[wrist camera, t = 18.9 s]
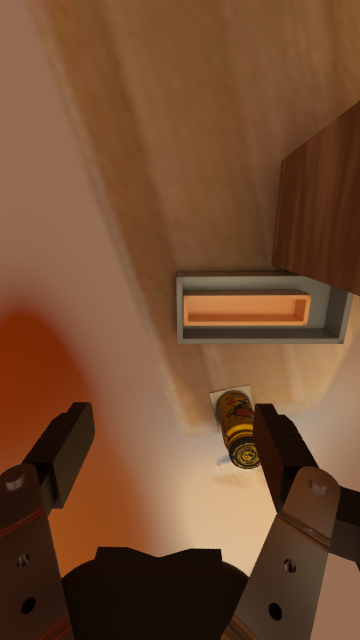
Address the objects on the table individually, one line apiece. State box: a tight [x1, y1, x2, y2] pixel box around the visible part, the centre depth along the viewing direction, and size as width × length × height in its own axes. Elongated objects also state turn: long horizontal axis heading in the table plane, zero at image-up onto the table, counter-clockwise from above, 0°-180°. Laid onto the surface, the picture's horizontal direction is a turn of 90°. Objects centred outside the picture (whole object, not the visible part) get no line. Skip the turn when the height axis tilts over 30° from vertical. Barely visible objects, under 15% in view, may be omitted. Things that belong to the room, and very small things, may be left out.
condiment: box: [210, 385, 261, 469], centre depth 42 cm, size 7×8×12 cm
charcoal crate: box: [176, 271, 354, 344], centre depth 39 cm, size 24×10×5 cm, turn 91°
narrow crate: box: [184, 290, 311, 326], centre depth 39 cm, size 18×4×4 cm, turn 91°
